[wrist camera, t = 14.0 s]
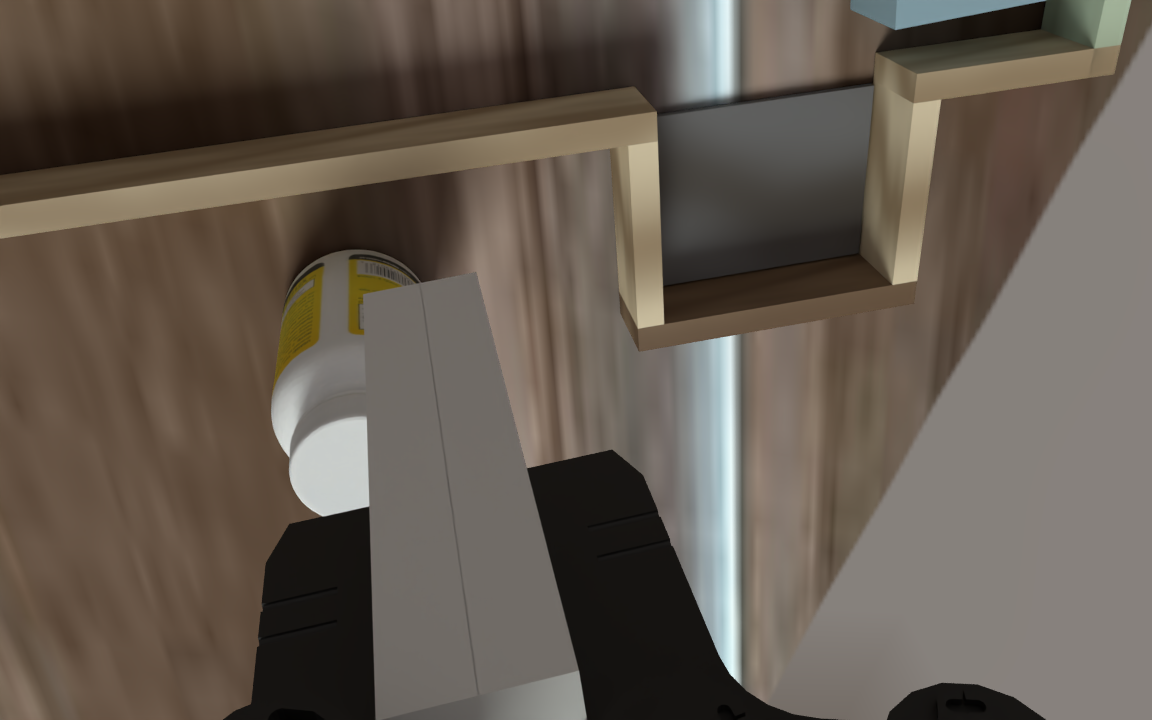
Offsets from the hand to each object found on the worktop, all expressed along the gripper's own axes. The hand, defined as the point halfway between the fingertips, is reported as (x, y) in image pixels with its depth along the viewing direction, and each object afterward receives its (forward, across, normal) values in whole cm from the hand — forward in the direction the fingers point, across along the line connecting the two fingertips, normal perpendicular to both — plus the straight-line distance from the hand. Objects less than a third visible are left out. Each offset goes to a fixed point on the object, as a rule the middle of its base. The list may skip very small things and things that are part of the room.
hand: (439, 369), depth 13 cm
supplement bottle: (+21, -3, -10) cm, 23 cm away
